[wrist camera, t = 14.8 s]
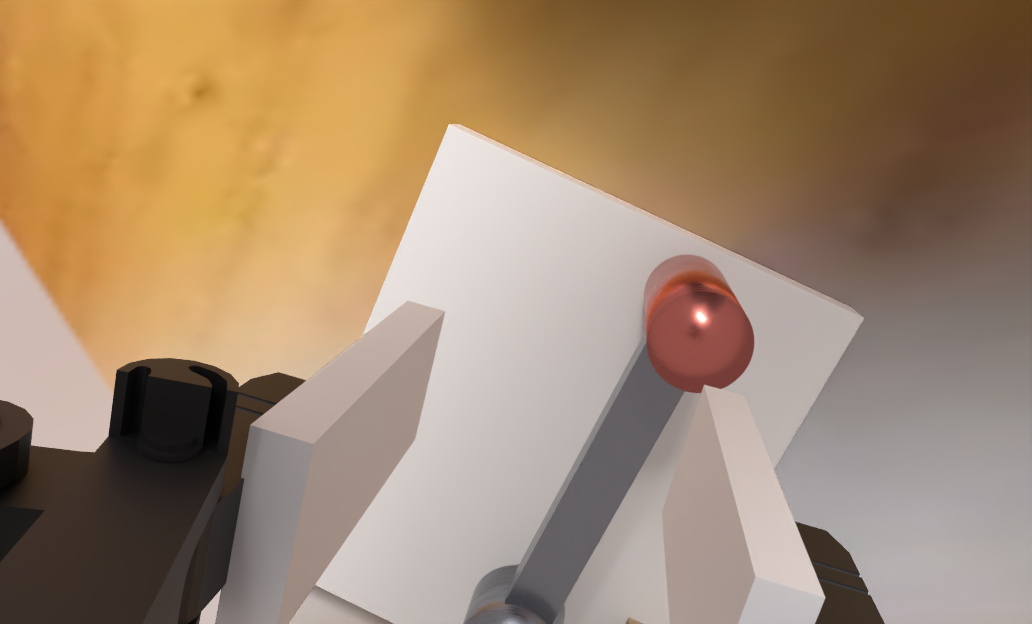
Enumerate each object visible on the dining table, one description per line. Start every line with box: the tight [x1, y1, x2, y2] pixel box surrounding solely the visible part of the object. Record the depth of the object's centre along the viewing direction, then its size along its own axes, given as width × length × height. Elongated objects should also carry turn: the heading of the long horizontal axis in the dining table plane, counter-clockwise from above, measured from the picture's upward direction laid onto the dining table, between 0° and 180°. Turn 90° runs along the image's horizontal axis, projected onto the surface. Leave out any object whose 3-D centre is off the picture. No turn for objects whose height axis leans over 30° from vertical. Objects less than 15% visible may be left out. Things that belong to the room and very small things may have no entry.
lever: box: [463, 255, 754, 624], centre depth 30 cm, size 22×4×7 cm, turn 155°
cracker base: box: [315, 124, 864, 624], centre depth 35 cm, size 22×18×4 cm
